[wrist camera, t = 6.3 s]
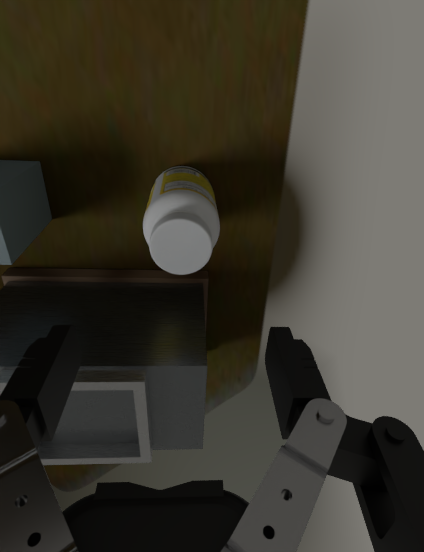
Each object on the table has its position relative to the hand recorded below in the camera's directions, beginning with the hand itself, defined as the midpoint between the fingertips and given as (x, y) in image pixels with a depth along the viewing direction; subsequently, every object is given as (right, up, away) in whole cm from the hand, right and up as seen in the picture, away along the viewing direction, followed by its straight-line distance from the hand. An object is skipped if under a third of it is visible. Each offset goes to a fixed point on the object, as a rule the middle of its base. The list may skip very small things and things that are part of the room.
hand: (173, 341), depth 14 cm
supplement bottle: (-1, +10, +16) cm, 18 cm away
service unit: (-9, -1, +22) cm, 23 cm away
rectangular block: (-15, +10, +14) cm, 23 cm away
